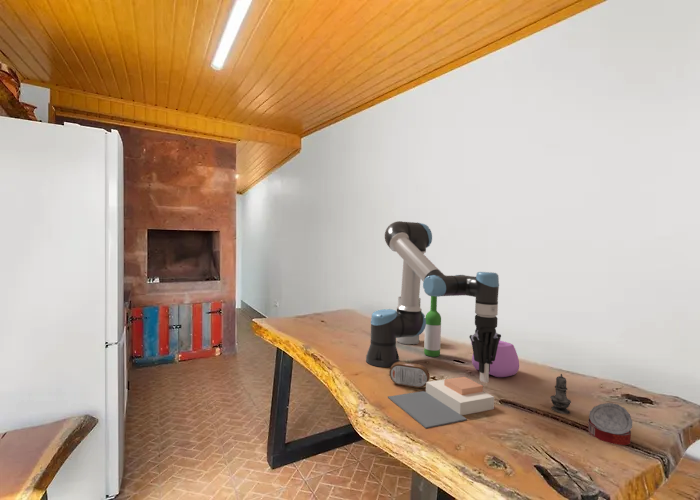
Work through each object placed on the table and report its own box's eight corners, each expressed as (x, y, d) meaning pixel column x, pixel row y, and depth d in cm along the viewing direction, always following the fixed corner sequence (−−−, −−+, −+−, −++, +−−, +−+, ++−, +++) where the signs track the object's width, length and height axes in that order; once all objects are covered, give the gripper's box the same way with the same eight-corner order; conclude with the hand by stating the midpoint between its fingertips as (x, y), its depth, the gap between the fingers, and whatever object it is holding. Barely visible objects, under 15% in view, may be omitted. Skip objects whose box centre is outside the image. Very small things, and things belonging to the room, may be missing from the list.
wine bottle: (439, 353, 175) (441, 294, 175) (440, 358, 167) (442, 296, 167) (423, 352, 176) (425, 293, 176) (424, 356, 169) (426, 295, 169)
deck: (425, 393, 125) (426, 382, 125) (456, 388, 130) (456, 377, 130) (460, 415, 108) (460, 402, 108) (493, 409, 114) (494, 396, 114)
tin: (429, 387, 130) (430, 365, 130) (428, 390, 127) (429, 367, 127) (390, 381, 135) (390, 359, 135) (388, 384, 132) (389, 362, 132)
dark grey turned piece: (570, 416, 110) (572, 378, 111) (549, 411, 114) (550, 374, 114) (570, 409, 115) (571, 373, 116) (550, 404, 119) (551, 369, 119)
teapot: (481, 361, 165) (482, 329, 165) (524, 375, 147) (526, 339, 147) (449, 368, 152) (450, 334, 152) (492, 385, 135) (493, 346, 135)
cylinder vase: (405, 338, 204) (407, 295, 204) (423, 342, 195) (425, 298, 195) (392, 341, 196) (393, 297, 196) (409, 346, 187) (411, 299, 187)
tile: (444, 385, 122) (444, 379, 122) (464, 382, 126) (464, 376, 126) (461, 395, 114) (462, 389, 114) (482, 391, 118) (482, 385, 118)
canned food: (631, 457, 97) (650, 435, 92) (597, 454, 96) (615, 431, 91) (604, 421, 107) (621, 399, 102) (573, 417, 106) (589, 395, 101)
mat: (387, 397, 120) (387, 396, 120) (424, 392, 126) (424, 390, 126) (425, 428, 99) (425, 427, 99) (466, 420, 105) (466, 418, 105)
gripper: (480, 318, 118) (477, 387, 118) (508, 316, 123) (505, 382, 123) (464, 314, 125) (462, 379, 125) (491, 312, 130) (489, 375, 130)
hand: (483, 381), depth 124 cm, fingers closed
